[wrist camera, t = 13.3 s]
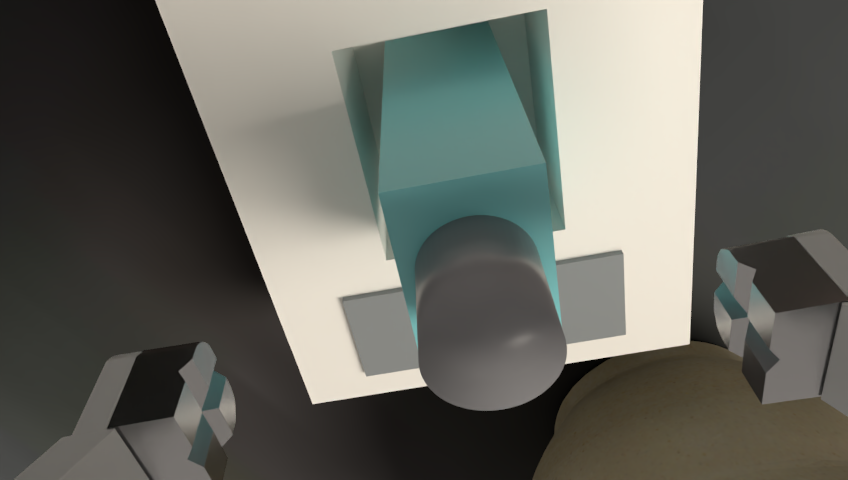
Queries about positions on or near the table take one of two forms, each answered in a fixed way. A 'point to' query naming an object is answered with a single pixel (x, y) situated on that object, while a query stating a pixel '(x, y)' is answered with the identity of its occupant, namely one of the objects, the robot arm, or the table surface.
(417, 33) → the white box
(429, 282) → the plug
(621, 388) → the planter bowl
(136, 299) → the table surface
